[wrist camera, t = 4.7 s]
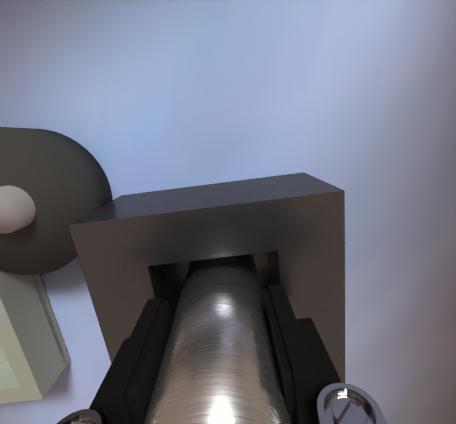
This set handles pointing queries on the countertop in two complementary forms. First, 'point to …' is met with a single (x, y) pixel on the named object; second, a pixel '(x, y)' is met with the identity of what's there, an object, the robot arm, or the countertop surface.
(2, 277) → the parts tray
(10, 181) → the wheel
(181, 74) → the countertop surface
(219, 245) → the block
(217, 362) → the pin
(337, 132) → the countertop surface
